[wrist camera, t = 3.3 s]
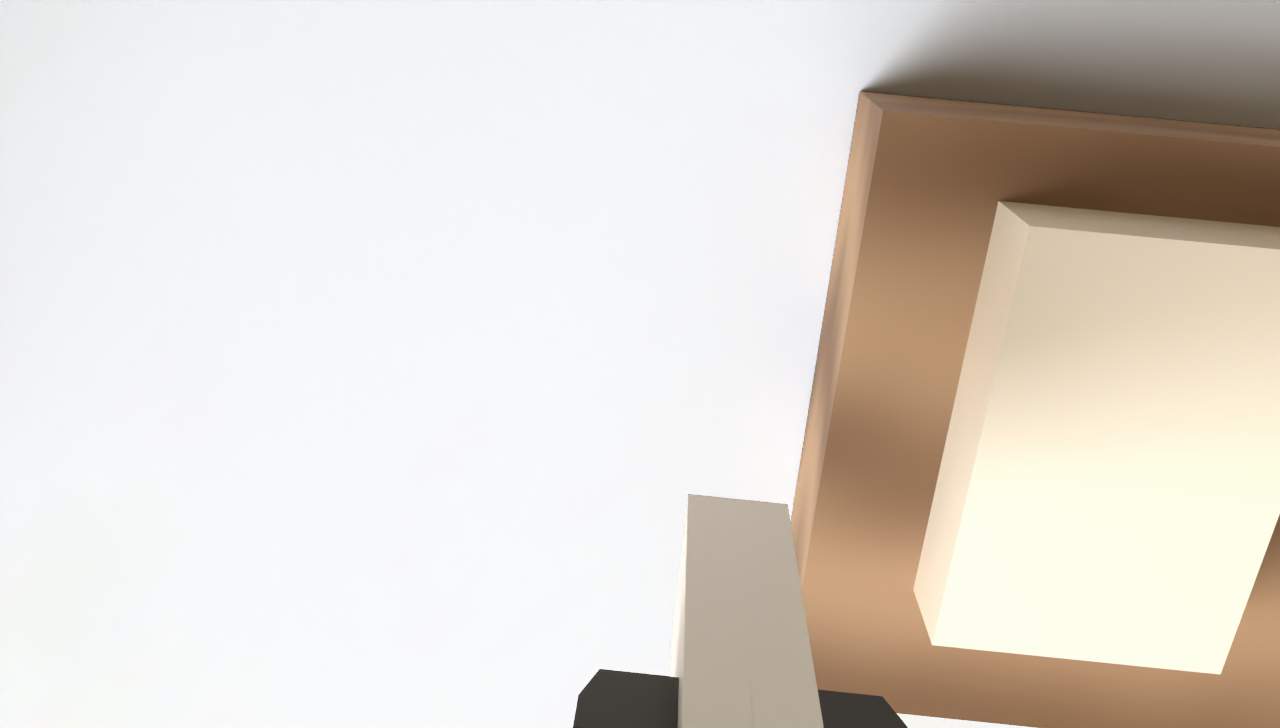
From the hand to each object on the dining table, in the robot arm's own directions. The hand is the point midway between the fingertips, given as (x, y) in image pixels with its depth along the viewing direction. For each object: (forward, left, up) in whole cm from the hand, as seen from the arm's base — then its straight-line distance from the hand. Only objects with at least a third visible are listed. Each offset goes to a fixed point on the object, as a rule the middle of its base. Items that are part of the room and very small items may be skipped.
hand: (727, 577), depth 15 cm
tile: (0, +8, -7) cm, 10 cm away
